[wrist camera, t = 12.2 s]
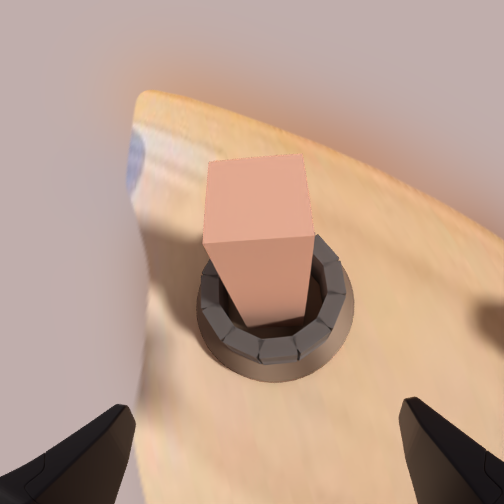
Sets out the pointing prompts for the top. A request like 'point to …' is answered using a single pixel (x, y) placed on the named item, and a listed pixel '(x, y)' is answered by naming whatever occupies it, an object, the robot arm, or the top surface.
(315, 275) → the socket
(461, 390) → the top surface
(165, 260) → the top surface
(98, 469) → the robot arm
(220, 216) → the terracotta peg
